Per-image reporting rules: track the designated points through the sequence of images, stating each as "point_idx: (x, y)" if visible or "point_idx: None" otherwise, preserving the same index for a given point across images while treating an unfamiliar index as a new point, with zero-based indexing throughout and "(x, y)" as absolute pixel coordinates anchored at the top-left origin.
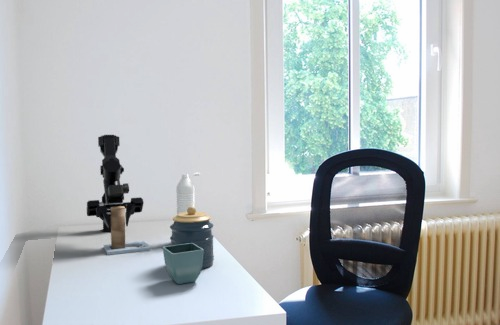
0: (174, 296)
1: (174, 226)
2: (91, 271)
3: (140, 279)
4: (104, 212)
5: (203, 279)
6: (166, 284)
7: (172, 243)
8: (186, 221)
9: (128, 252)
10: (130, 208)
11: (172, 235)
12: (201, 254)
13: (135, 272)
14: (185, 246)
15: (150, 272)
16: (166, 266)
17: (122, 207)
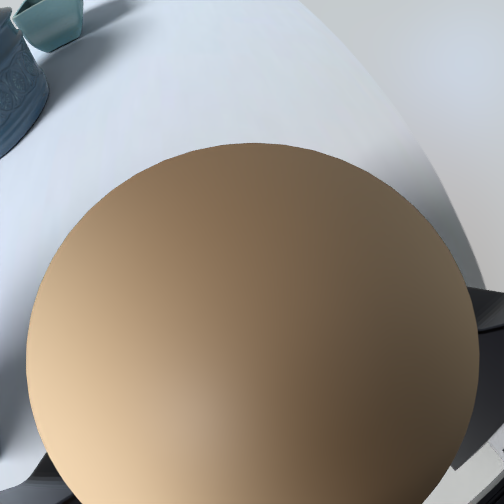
0: (101, 2)
1: (3, 9)
2: (268, 57)
3: (136, 27)
4: (486, 307)
5: (35, 52)
6: (96, 22)
7: (24, 44)
8: None
9: None
10: (16, 492)
11: (13, 32)
12: (30, 3)
13: (142, 52)
14: (29, 12)
15: (107, 57)
16: (82, 12)
17: (67, 267)
